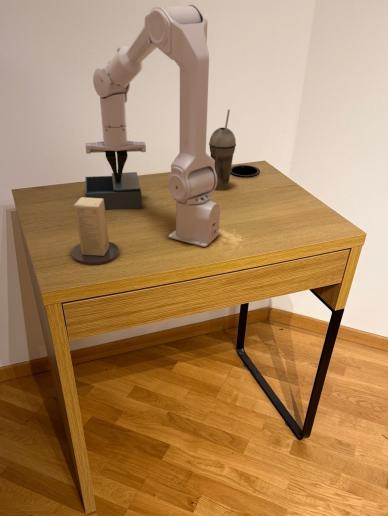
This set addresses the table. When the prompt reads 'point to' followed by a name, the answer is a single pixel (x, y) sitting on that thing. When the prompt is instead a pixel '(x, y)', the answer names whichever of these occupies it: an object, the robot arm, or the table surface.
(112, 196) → the carton
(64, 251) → the table surface
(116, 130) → the robot arm
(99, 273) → the table surface
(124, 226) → the table surface
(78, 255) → the coaster
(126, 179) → the flap
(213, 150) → the beverage cup
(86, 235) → the box
